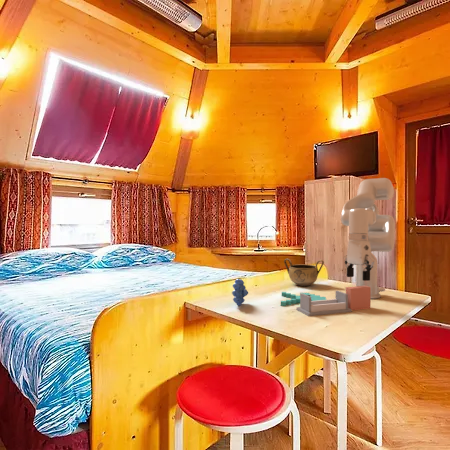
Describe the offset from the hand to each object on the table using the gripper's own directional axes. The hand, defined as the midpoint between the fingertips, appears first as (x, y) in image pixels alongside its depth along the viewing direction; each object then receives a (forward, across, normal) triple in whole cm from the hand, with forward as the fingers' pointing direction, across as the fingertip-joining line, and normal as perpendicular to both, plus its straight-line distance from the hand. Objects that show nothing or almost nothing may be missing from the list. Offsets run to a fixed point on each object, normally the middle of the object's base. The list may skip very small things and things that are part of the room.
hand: (357, 278), depth 132 cm
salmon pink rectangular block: (+13, +1, -1) cm, 13 cm away
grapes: (+14, +19, +45) cm, 51 cm away
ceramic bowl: (+12, +50, -4) cm, 51 cm away
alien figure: (+13, +18, +15) cm, 27 cm away
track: (+13, +2, +15) cm, 20 cm away
